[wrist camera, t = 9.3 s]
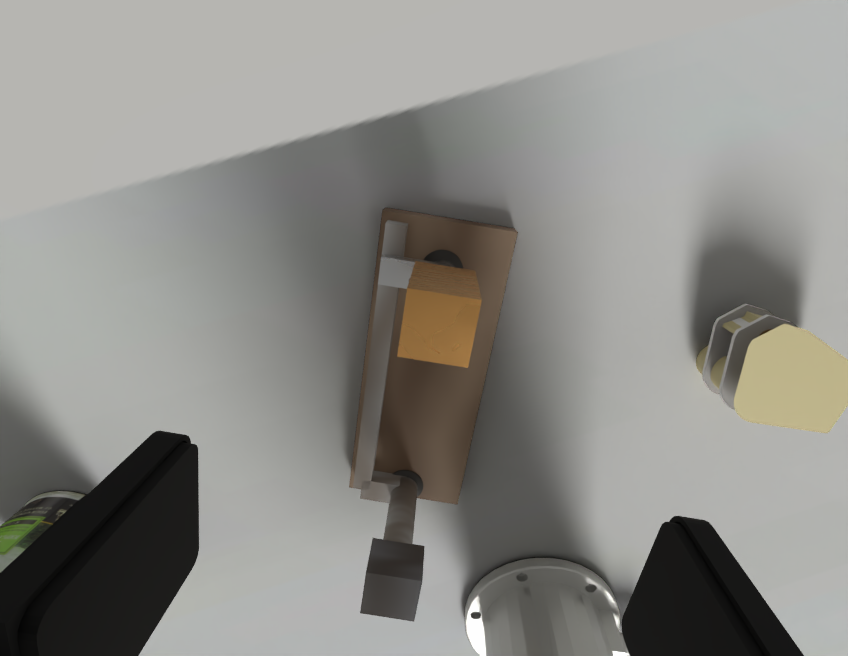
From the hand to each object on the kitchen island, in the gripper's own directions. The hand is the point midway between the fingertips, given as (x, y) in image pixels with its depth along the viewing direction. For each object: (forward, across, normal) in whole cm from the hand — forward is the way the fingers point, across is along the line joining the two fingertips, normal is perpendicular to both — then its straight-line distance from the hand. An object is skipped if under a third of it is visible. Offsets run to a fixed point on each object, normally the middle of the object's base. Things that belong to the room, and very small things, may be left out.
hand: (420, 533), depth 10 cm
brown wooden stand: (+22, 0, +6) cm, 23 cm away
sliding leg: (+20, +1, 0) cm, 20 cm away
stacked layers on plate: (+23, -20, +2) cm, 31 cm away
